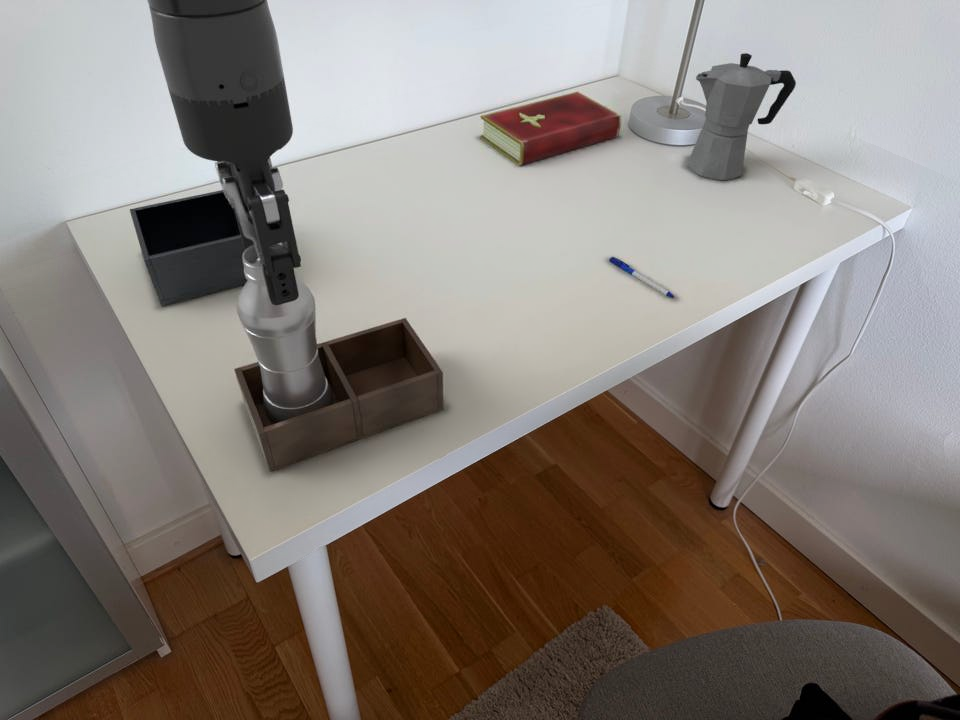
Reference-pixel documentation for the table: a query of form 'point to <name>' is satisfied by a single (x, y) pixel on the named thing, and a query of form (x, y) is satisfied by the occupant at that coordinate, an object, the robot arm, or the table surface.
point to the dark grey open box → (190, 246)
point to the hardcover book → (549, 127)
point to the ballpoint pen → (639, 276)
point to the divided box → (351, 393)
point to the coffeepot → (733, 115)
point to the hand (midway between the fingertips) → (270, 271)
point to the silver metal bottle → (283, 345)
